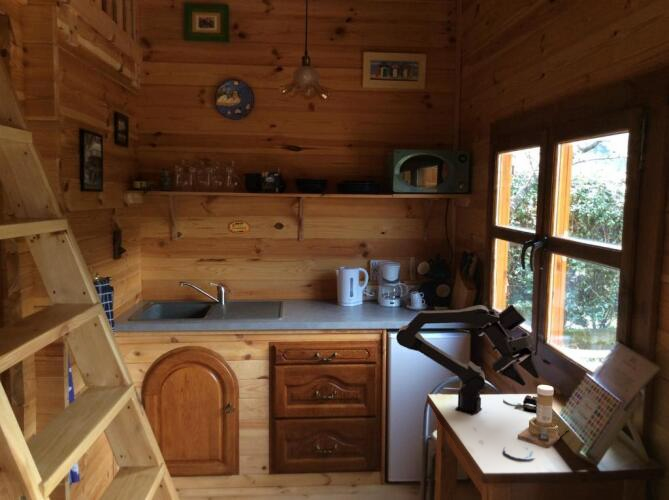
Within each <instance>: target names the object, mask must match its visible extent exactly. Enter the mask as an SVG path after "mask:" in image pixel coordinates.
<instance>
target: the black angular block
mask: <svg viewBox="0 0 669 500" xmlns="http://www.w3.org/2000/svg"><path fill="white" fill-rule="evenodd" d="M522 404H523V405H518V406H517V405H515V406H514V408H513V410H518V411H522V412H527V413H531V414H536V413H537V396H534V395H533V396H532V395H529V394H528V395H525V397H524V399H523V401H522Z"/></svg>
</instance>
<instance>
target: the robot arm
mask: <svg viewBox="0 0 669 500" xmlns="http://www.w3.org/2000/svg"><path fill="white" fill-rule="evenodd" d="M526 321H527V318H526V317H524V315H523V314H522V312H521V311H520V310H519V309H517V307H515V306H514V304H513V303H510V304H509V305H508V306H507V307H506V308H505V309H503V310H502V311H501V312H498V311H494V310H492V309H491V310H490V309H488V307H486V306H485V305H483V304H482V305H481V304H478V305H477V304H476V305H474V306H469V307H464V308H462V309H449V310H445V309H444V310H423V309H422V310H420V311H418V312H417V315H416V316H414V317H413V319H412V320H410V322H409V323H407V324H406V325H403V326H401V327H400V328H399V330H398V331H397V333H396V336H395V337H396V338H395V339H396V341H397V344H398V345H399V346H402V347H403V348H406V349H408V350H412V351H414V352H415V351H416V352H419V353H421V354H423V355H424V356H425V357H427V358H428V359H430V360H432V361H434V362H435V363H436V364H439V366H441V367H443V369H444V368H445V369H446V370H447V371H449V372H450V373H452V374H454V375H456V376H457V378H458V379H459V380H460V384H459V389H458V392H457V393H458V394H457V406H456V407H455V408H454V409H455V411H458V412H462V413H466V414H469V415H471V416H473V415H474V414H476V413H478V412H480V411H482V410H483V408H482V407H481V406H482V405H481V404H482V397H481V392H480V391H481V390H482V389H484V387H485V385H486V376H485V372H484V371H483V370H482V366H478V365H476V363H474V362H472V361H471V360H469V362H468V363H464V362H461V361H460V360H458V359H456V358H455V357H453V356H452V355H450V354H449V353H447V352H446V351H443V350H442V349H440V348H439V347H437V346H435V345H434V344H432V343H431V342H429V341H428V340H426V339H425V337H423V336H422V334H421V333H420V332H419V331H420V330H421V329H422V328H423V327H424V326H425V325H427V324H429V325H430V324H432V325H433V324H457V323H458V324H460V323H461V324H466V325H470V326H476V327H477V334H476V335H477V336H479V337H481V336H483V335H485V337H486V338H487V339H488V340H489V342H490V343H491V345H492V346H493V347H492V351H493V352H495V351H497V353H498V354H499V356H500V357H499V358H498V359H496V360H494V362H493V363H491V369H493V371H494V373H498V374H499V375H502V376H505V378H508V379H510V380H513V382H515V383H517V384H519V385H520V386H522V387H524V386H526V385H527V384H526V382H525V379H524V378H523V376H522V375H521V373H520V372H519V370H518V368H517V363H518V365H519V366H520V367H521V368H522V369H524V370H525V371H526V372H528V374H530V375H531V376H532V377H533V378H535V379H536V380H537V379H539V378H540V375H539V372H538V369H537V366H536V364H535V360H534V358H535V355H536V349H535V347H534V344H535V343H534V342H533V341H534V339H535V338H534V336H533V335H532V334H530V332H529V331H528V332H523V333H521V336H520V337H517V338H515V336H512V335H508V334H507V333H508V332H506V331H513V330H515V329H516V328H518V327H519V326H521V325H522V324H523V323H525V322H526ZM505 330H506V331H505Z"/></svg>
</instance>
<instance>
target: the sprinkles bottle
mask: <svg viewBox="0 0 669 500" xmlns="http://www.w3.org/2000/svg"><path fill="white" fill-rule="evenodd" d="M554 391H555V390H554V387H553V386H551V385H547V384H539V385H538V386H537V387H536V393H537V394H536V395H537V396H536V397H537V413H535V415H536V416H535V417H536V425H539V426H542V427H551V426H552V419H553V402H554V400H553V397H554Z"/></svg>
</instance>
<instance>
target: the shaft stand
mask: <svg viewBox="0 0 669 500" xmlns="http://www.w3.org/2000/svg"><path fill="white" fill-rule="evenodd" d="M517 439H519V440H522V441H525V442H529V443H532V444H535V445H538V446H540V447H544V448H548V449H549V448H550V447H551V446H552V445H553V444H555V443H556V442H557V441H558V440H559V439H560V436H559V435H558V426H557V425H556V426H555V427H553V426H551V427H542V426H539V425H536V416H533V417H532V418H530V419H528V427H527V428H525V429H523V431H520V433H518V434H517Z"/></svg>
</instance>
